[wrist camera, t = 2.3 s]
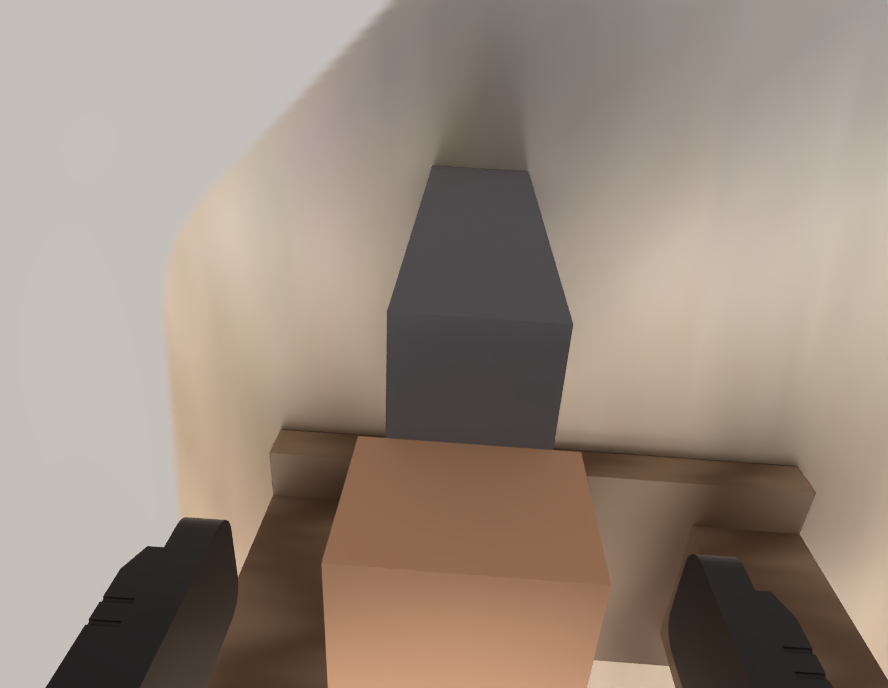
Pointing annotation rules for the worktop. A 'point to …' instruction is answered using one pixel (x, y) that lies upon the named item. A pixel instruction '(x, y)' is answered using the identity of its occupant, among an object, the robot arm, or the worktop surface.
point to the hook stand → (624, 544)
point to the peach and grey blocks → (468, 468)
